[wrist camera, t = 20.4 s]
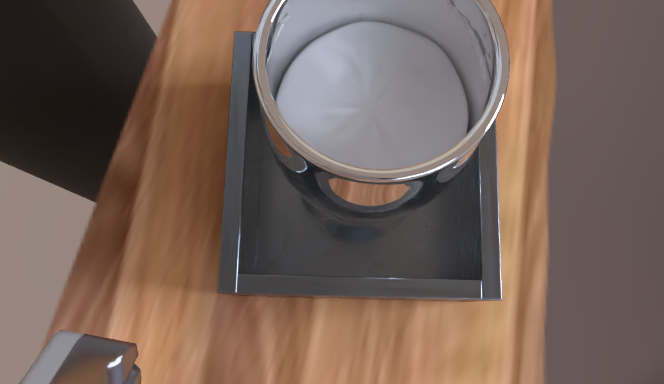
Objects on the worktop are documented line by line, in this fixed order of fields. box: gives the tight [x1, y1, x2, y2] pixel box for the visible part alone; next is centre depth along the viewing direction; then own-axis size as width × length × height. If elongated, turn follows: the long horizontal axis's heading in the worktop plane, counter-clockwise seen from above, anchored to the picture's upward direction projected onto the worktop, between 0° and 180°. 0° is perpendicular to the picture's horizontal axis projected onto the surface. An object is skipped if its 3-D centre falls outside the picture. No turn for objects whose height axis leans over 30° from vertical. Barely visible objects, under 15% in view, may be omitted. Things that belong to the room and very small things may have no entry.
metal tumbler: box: [252, 0, 510, 242], centre depth 22 cm, size 7×7×15 cm
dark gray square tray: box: [218, 32, 502, 302], centre depth 27 cm, size 12×12×6 cm
